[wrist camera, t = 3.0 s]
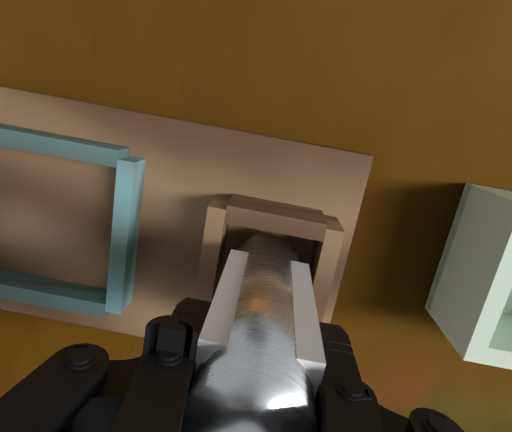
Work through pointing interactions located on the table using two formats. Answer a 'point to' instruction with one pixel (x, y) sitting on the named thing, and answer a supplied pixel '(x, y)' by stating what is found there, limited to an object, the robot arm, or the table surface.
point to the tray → (477, 278)
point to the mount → (155, 209)
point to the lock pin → (256, 355)
